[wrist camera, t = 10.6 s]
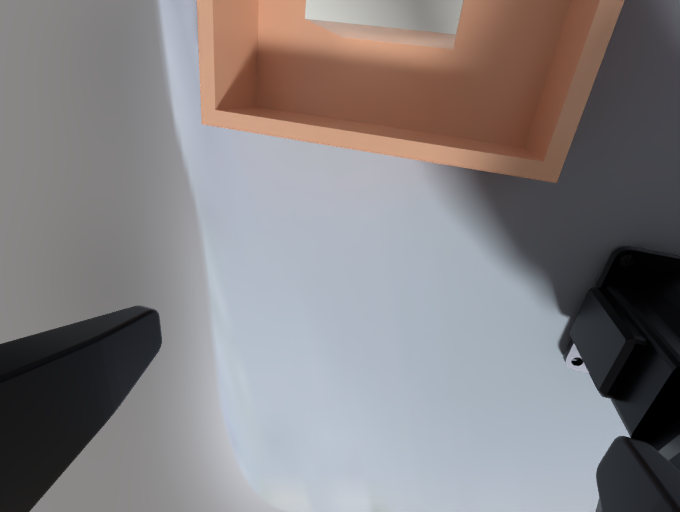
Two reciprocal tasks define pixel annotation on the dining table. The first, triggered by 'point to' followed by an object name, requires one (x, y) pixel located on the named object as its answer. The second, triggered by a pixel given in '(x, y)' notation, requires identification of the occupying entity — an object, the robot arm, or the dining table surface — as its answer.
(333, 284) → the dining table surface
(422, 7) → the grey block
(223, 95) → the terracotta bin
